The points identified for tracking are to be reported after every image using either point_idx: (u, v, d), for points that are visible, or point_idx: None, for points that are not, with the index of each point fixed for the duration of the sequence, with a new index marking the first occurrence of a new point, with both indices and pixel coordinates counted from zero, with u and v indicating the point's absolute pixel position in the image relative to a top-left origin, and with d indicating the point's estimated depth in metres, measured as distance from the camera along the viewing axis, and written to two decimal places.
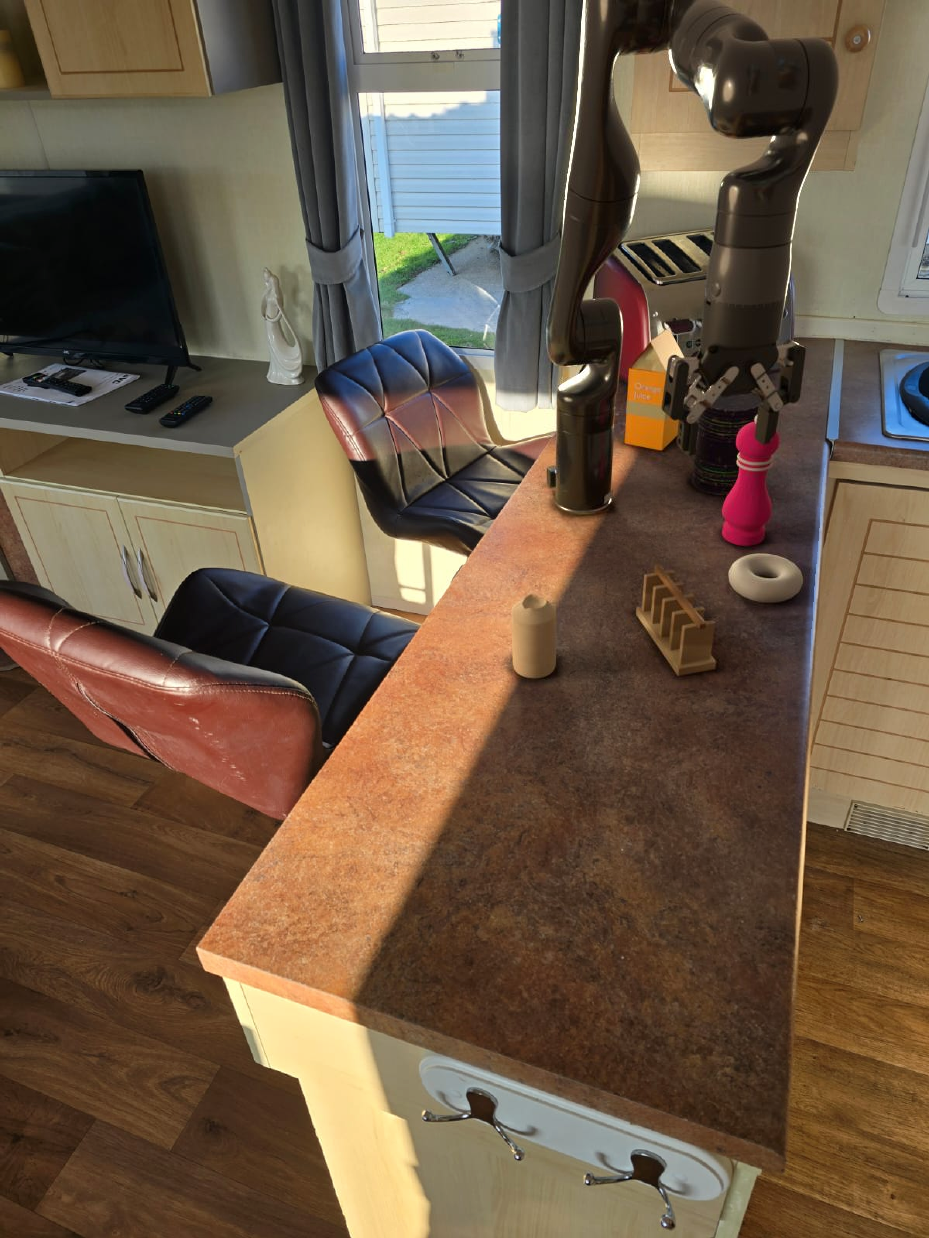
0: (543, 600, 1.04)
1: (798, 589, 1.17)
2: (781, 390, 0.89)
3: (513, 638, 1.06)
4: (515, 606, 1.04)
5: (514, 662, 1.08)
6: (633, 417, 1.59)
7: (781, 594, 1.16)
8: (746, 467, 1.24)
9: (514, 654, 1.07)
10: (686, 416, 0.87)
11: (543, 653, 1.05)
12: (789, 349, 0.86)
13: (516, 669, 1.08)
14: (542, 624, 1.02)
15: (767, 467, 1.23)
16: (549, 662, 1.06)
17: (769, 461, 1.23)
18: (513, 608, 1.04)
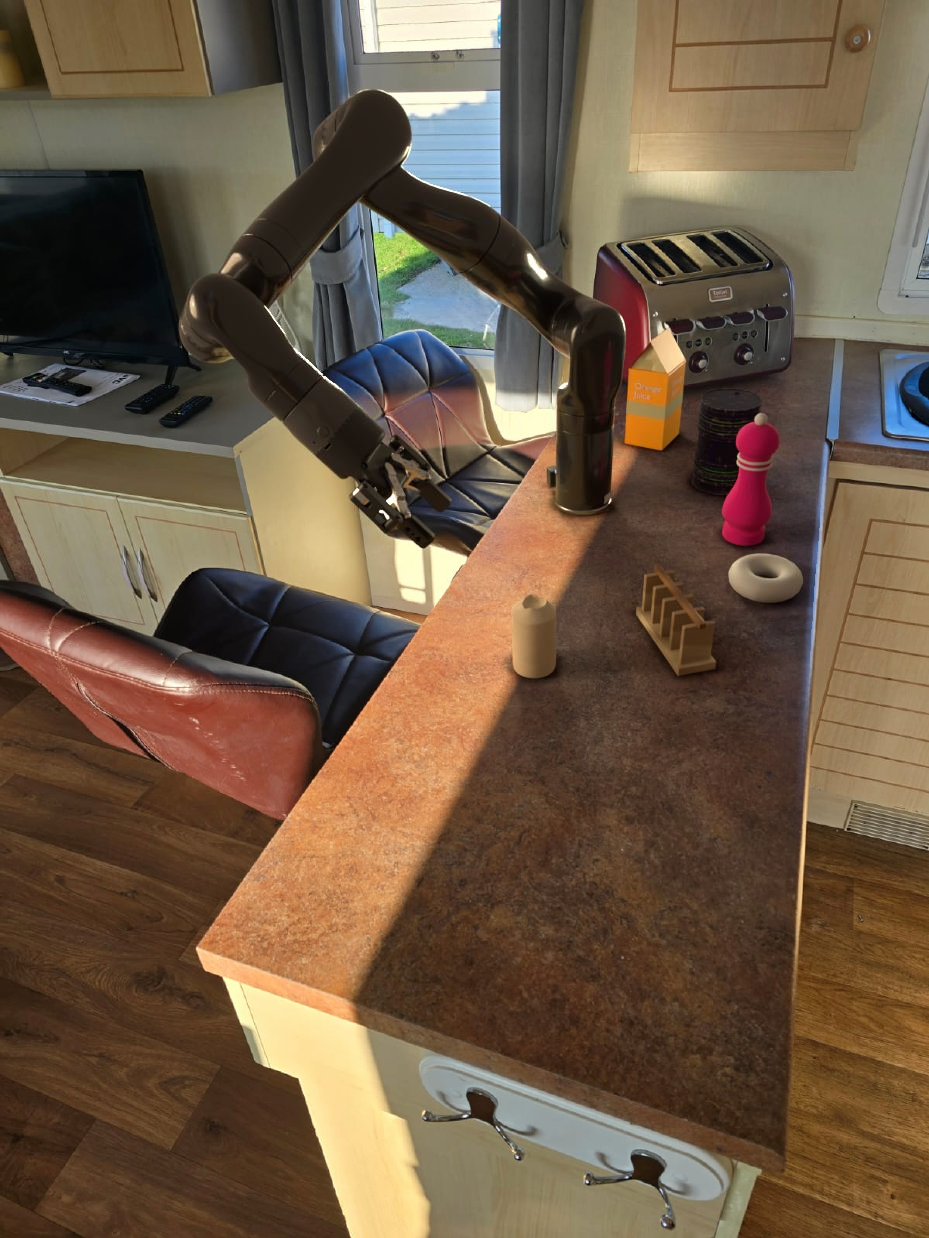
0: (543, 600, 1.04)
1: (798, 589, 1.17)
2: None
3: (513, 638, 1.06)
4: (515, 606, 1.04)
5: (514, 662, 1.08)
6: (633, 417, 1.59)
7: (781, 594, 1.16)
8: (746, 467, 1.24)
9: (514, 654, 1.07)
10: (403, 515, 0.94)
11: (543, 653, 1.05)
12: (390, 443, 1.01)
13: (516, 669, 1.08)
14: (542, 624, 1.02)
15: (767, 467, 1.23)
16: (549, 662, 1.06)
17: (769, 461, 1.23)
18: (513, 608, 1.04)
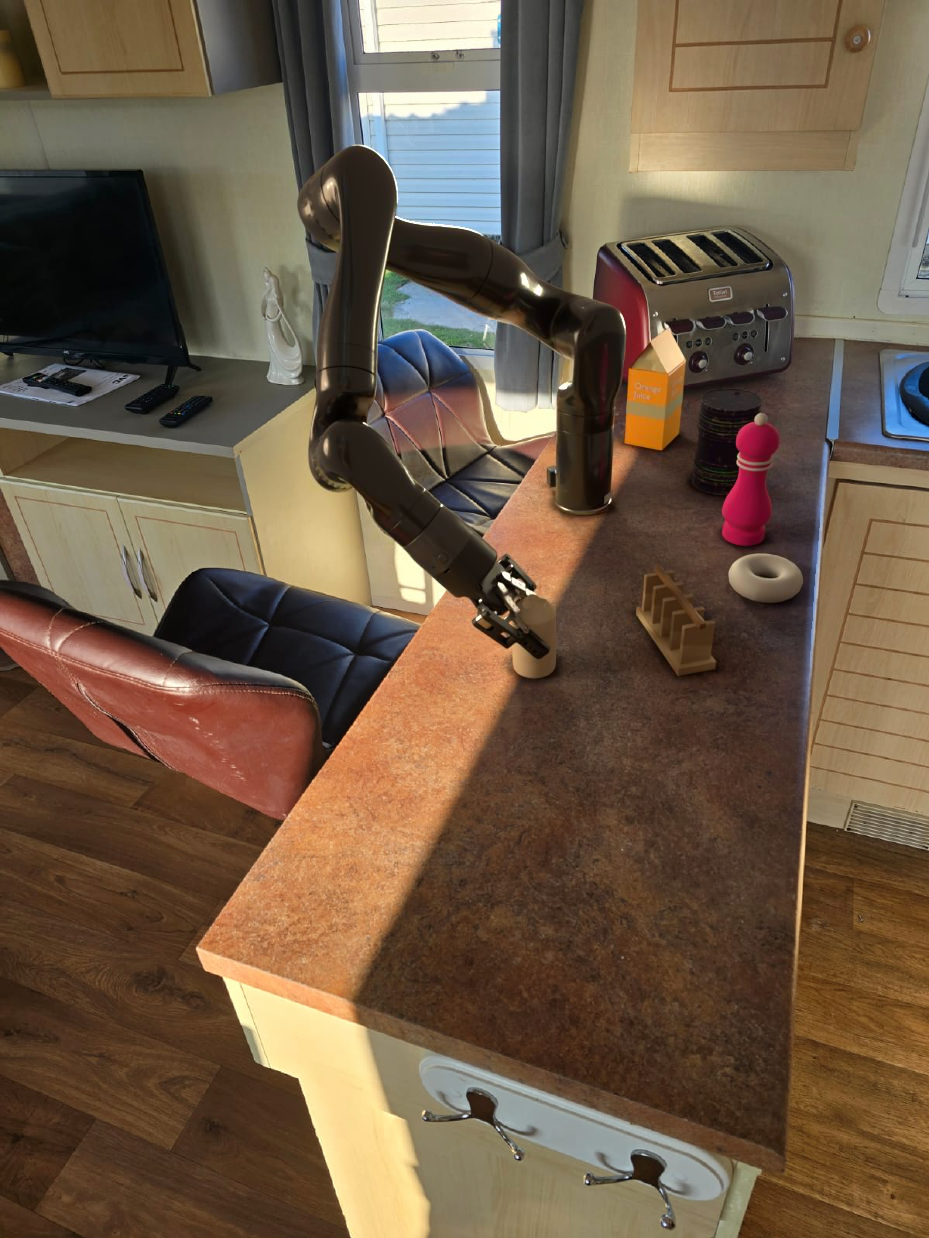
0: (543, 600, 1.04)
1: (798, 589, 1.17)
2: None
3: None
4: None
5: (514, 662, 1.08)
6: (633, 417, 1.59)
7: (781, 594, 1.16)
8: (746, 467, 1.24)
9: (514, 654, 1.07)
10: (522, 632, 1.01)
11: None
12: (501, 561, 1.08)
13: (516, 669, 1.08)
14: (542, 624, 1.02)
15: (767, 467, 1.23)
16: (549, 662, 1.06)
17: (769, 461, 1.23)
18: None
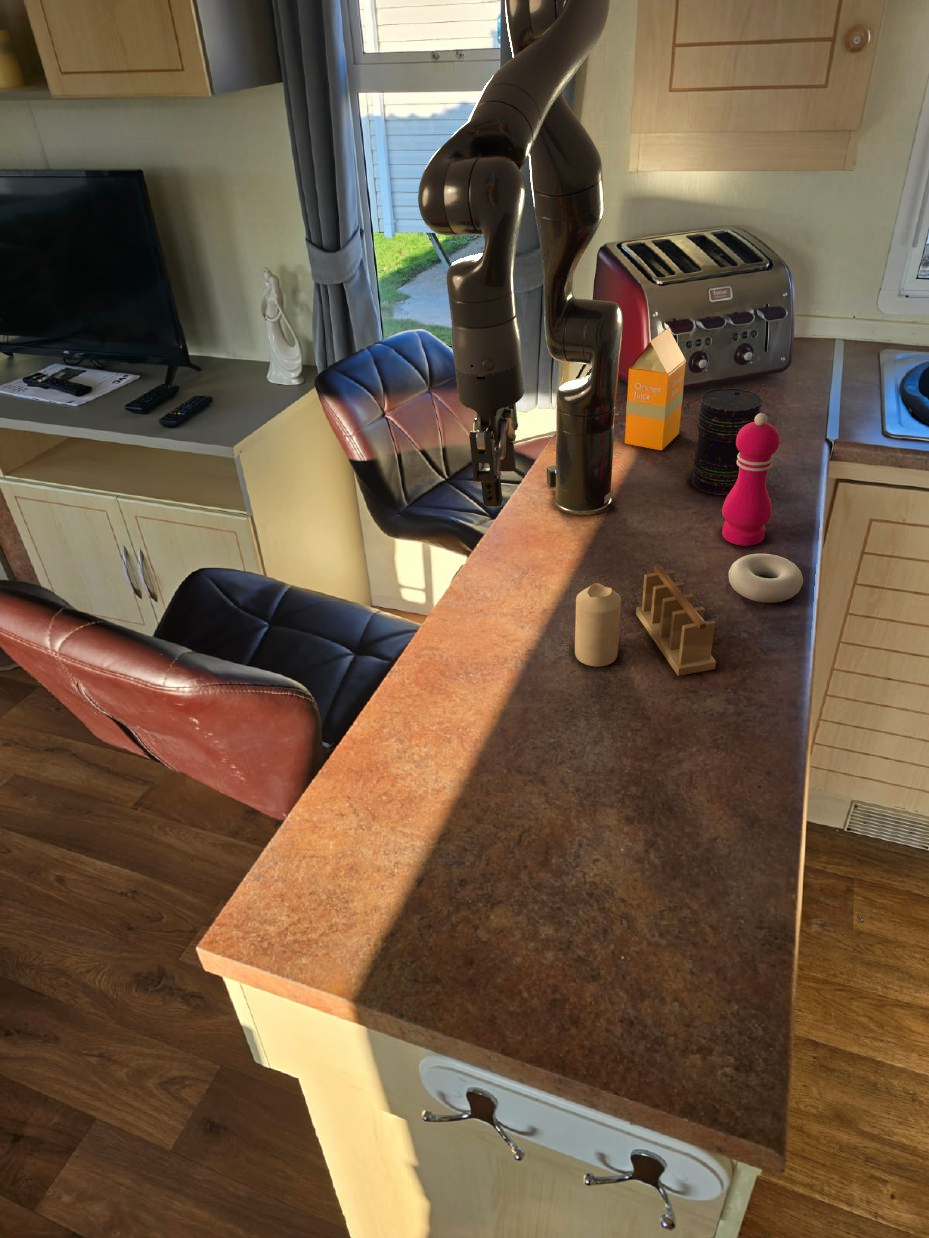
0: (608, 589, 1.05)
1: (798, 589, 1.17)
2: None
3: (577, 627, 1.07)
4: (580, 595, 1.06)
5: (577, 651, 1.09)
6: (633, 417, 1.59)
7: (781, 594, 1.16)
8: (746, 467, 1.24)
9: (577, 643, 1.08)
10: None
11: (607, 641, 1.06)
12: None
13: (579, 657, 1.09)
14: (608, 613, 1.03)
15: (767, 467, 1.23)
16: (613, 651, 1.07)
17: (769, 461, 1.23)
18: (578, 597, 1.06)
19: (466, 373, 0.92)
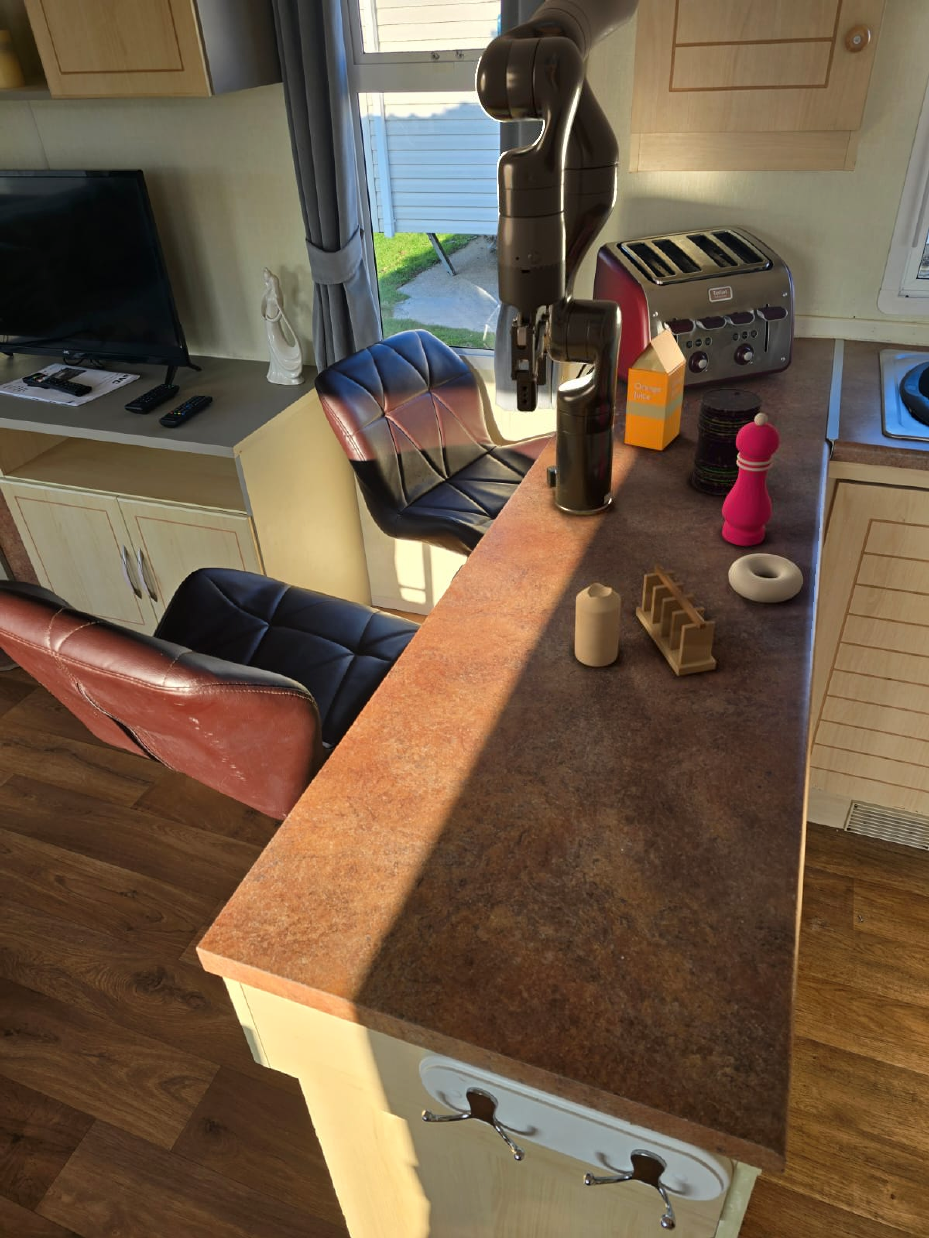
0: (608, 589, 1.05)
1: (798, 589, 1.17)
2: None
3: (577, 627, 1.07)
4: (580, 595, 1.06)
5: (577, 651, 1.09)
6: (633, 417, 1.59)
7: (781, 594, 1.16)
8: (746, 467, 1.24)
9: (577, 643, 1.08)
10: None
11: (607, 641, 1.06)
12: None
13: (579, 657, 1.09)
14: (608, 613, 1.03)
15: (767, 467, 1.23)
16: (612, 651, 1.07)
17: (769, 461, 1.23)
18: (578, 597, 1.06)
19: (510, 266, 0.92)
